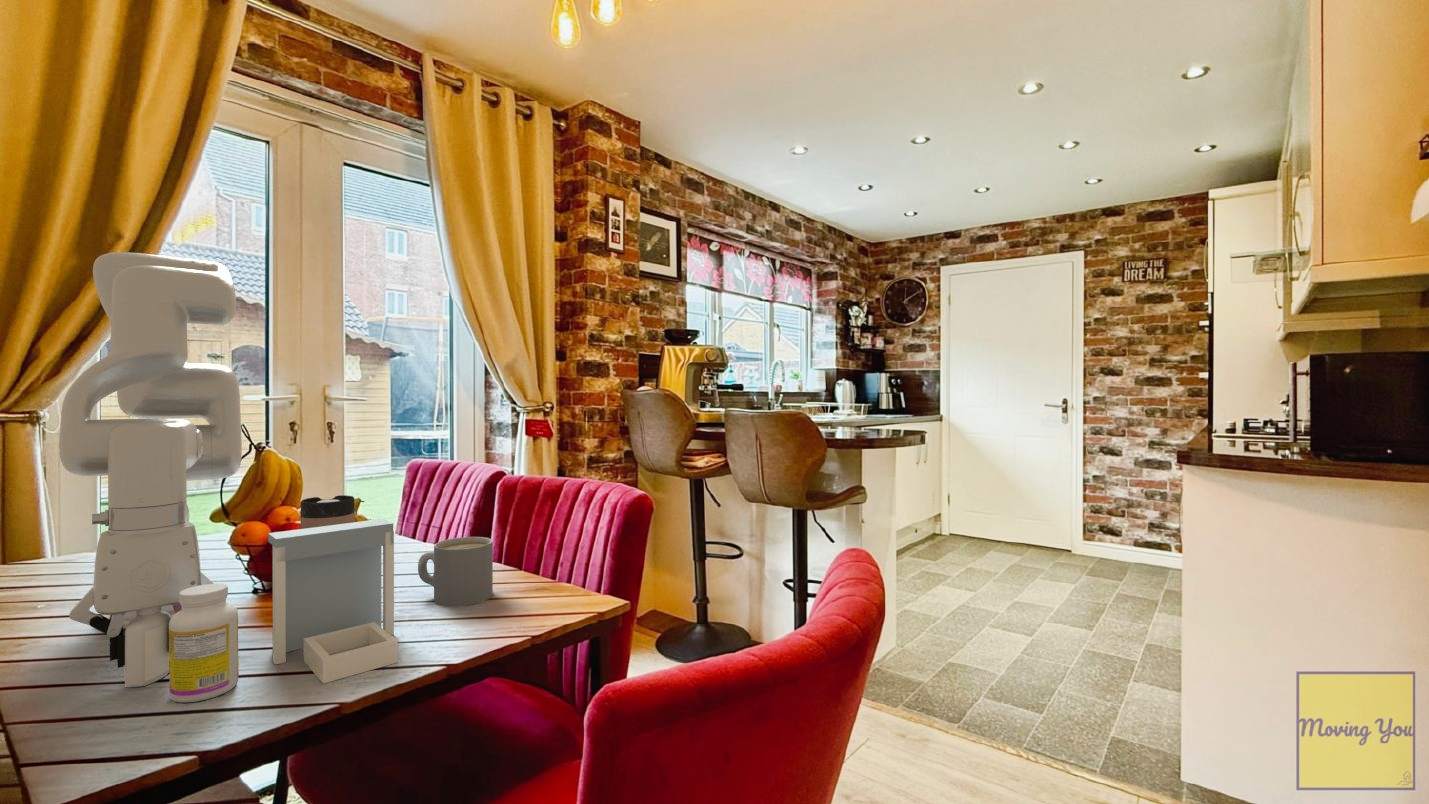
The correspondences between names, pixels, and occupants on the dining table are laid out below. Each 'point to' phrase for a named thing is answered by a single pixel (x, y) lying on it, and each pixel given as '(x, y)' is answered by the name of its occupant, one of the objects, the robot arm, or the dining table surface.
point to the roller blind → (330, 581)
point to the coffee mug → (460, 571)
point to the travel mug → (327, 511)
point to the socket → (350, 651)
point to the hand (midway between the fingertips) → (149, 656)
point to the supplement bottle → (203, 644)
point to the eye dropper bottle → (147, 647)
